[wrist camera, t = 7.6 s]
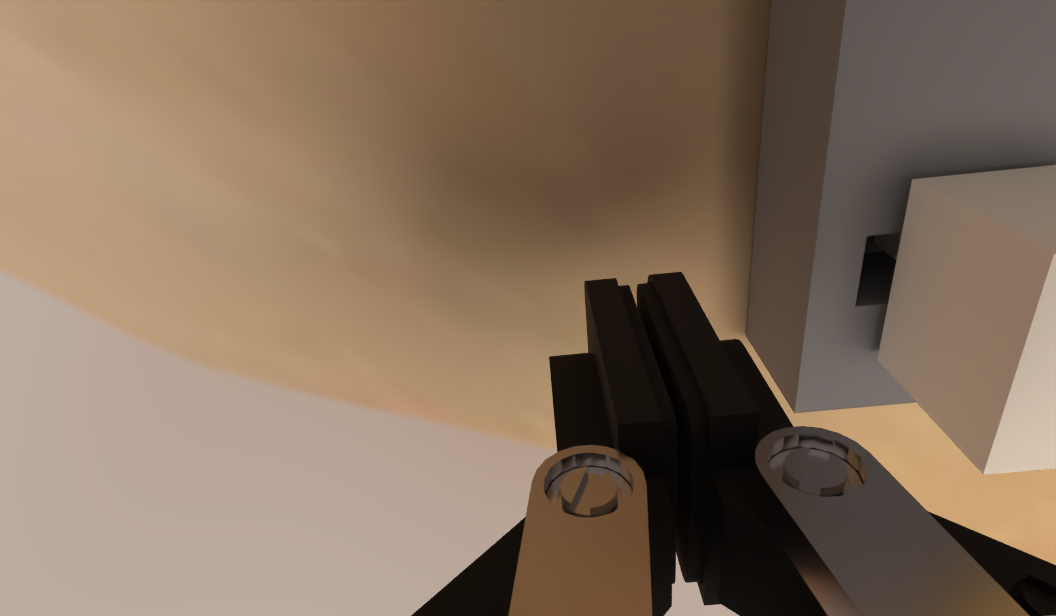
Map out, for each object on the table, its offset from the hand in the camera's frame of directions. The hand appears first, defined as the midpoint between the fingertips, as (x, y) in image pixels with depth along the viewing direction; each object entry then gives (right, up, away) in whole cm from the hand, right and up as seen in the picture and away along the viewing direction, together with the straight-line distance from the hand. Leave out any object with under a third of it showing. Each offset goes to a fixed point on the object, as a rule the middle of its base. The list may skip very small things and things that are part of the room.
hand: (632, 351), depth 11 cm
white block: (+7, +3, +4) cm, 8 cm away
